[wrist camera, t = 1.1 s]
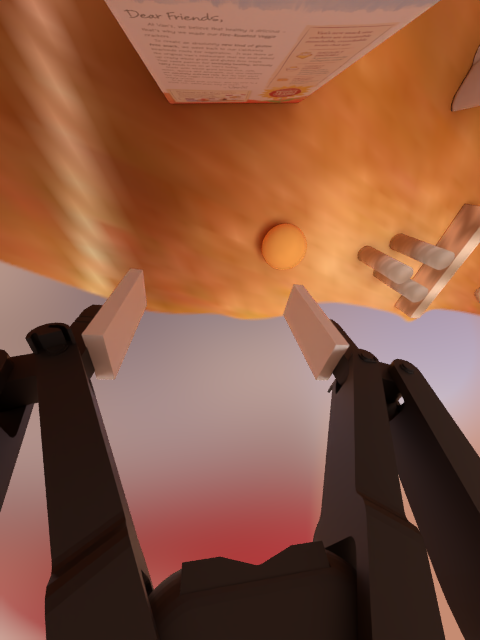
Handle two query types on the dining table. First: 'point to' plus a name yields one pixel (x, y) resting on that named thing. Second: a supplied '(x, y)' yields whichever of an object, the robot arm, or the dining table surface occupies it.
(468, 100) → the tall pale column
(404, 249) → the pin
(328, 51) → the cracker box
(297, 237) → the ball
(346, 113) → the dining table surface
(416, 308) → the back wall
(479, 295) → the pizza slice
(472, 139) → the dining table surface
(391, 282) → the pin
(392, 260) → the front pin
